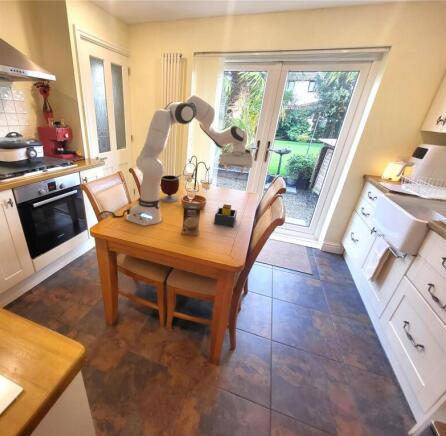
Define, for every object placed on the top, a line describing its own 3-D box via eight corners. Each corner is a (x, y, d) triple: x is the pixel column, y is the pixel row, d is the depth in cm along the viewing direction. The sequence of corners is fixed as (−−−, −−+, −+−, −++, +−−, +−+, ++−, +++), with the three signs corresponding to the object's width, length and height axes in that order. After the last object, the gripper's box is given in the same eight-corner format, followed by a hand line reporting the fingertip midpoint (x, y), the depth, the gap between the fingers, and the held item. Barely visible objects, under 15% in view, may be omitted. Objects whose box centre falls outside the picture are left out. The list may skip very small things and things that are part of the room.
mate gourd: (157, 200, 176) (157, 174, 167) (164, 195, 188) (164, 170, 179) (177, 203, 172) (178, 177, 164) (182, 197, 184) (183, 172, 176)
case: (213, 224, 144) (215, 213, 141) (217, 216, 154) (218, 207, 151) (232, 227, 140) (234, 217, 137) (235, 219, 150) (237, 210, 147)
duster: (220, 221, 145) (222, 206, 141) (222, 218, 149) (224, 204, 145) (228, 222, 144) (230, 207, 140) (229, 219, 148) (231, 205, 144)
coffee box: (181, 234, 130) (183, 207, 123) (182, 229, 136) (184, 203, 129) (198, 235, 129) (200, 209, 123) (198, 230, 135) (200, 204, 128)
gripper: (221, 148, 149) (217, 166, 145) (254, 151, 143) (251, 170, 139) (222, 154, 155) (217, 172, 151) (254, 157, 149) (250, 176, 145)
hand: (234, 171), depth 145 cm, fingers open, 8 cm apart
